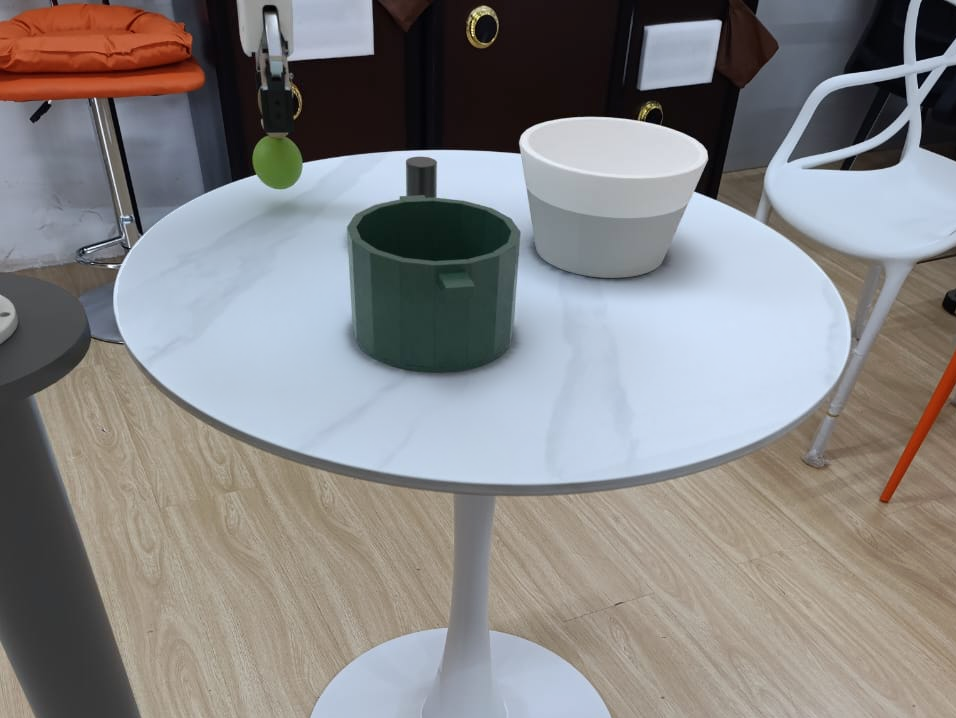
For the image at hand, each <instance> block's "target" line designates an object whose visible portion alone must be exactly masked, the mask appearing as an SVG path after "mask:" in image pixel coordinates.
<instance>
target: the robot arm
mask: <svg viewBox="0 0 956 718" xmlns="http://www.w3.org/2000/svg"><path fill="white" fill-rule="evenodd" d="M236 8H237V19H238V29H239V36H240V37H239V39H240V42H241V47H242V50H243V52H244V54H245V55H246V56H248V57H249V58H250V57H251V58H252V55H253V54H252V53H254V54H255V67H256V72H254V74H255V75H254V77H255V86H256V95H257V98H258V92H259V89H260V97H261V107H262V114H261V111H260V108H259V103H258V102H257V106H258V113H259V114H260V116H262V119H263V127H262V129H263V128H264V129H263V130H264V132H265V133H266V134H267V133H288V134H292V133H294V132H295V130H296V128H295V127H296V125H295V113H294V101H293V98H292V89H293V88H292V89H291V88H290V86H291V81H290V78H289V73H290V72H289V63H288V58H289V57H291V55H292V54H293V53H294V12H293V10H294V9H293V0H236ZM261 85H262V88H260V87H261ZM17 325H18V316H17V313H16V311H15V308H14V305H13V304H12V303H11V302H10V301H9V299H7V298H5V297H4V296H2V295H0V344H2V343H3V342H4V341H6V340H7V339H8V338H9V337H10V336H11V335H12V334H13V332H14V331H15V330H16V328H17Z"/></svg>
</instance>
